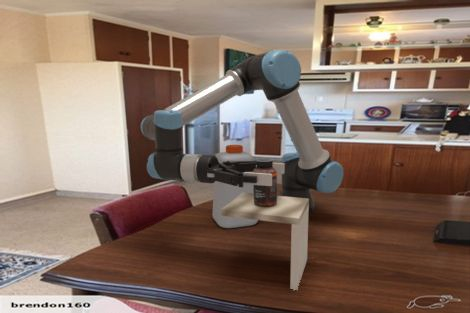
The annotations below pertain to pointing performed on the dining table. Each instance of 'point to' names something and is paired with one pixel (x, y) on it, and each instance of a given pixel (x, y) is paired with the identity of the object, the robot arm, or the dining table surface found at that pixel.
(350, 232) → the dining table surface
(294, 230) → the cream l-shaped stand
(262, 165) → the supplement bottle
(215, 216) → the plastic bottle
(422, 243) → the dining table surface
